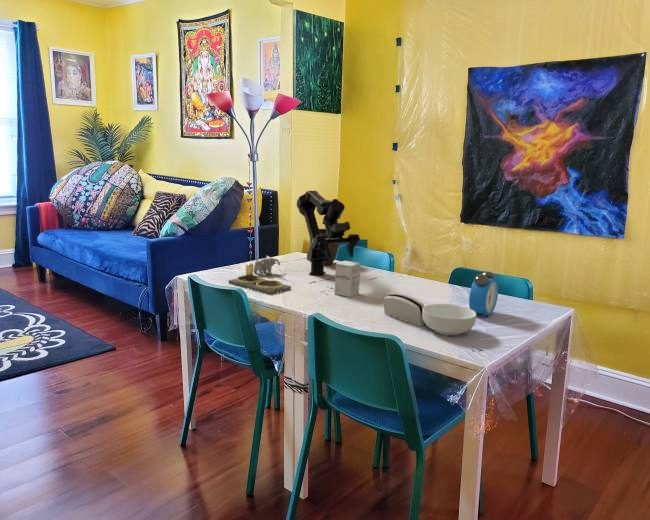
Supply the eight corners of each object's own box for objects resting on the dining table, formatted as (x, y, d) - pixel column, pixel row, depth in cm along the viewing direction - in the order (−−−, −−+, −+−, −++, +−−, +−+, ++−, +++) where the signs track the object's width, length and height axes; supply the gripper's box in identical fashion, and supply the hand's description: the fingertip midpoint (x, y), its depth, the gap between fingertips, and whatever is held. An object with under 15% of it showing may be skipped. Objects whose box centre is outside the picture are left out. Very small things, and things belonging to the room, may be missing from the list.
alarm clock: (483, 320, 190) (487, 277, 187) (466, 316, 194) (470, 274, 191) (496, 311, 201) (500, 271, 197) (480, 308, 204) (483, 268, 201)
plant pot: (329, 259, 279) (330, 227, 276) (346, 265, 267) (347, 232, 264) (304, 262, 271) (304, 229, 268) (320, 268, 259) (321, 234, 256)
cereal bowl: (485, 334, 176) (487, 313, 174) (449, 344, 167) (451, 322, 165) (445, 320, 189) (447, 300, 188) (410, 328, 180) (411, 307, 178)
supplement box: (333, 294, 216) (335, 262, 214) (343, 290, 222) (344, 259, 220) (350, 297, 212) (351, 265, 210) (359, 293, 219) (361, 262, 216)
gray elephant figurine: (249, 274, 245) (249, 257, 243) (268, 268, 254) (268, 252, 252) (264, 278, 239) (264, 261, 237) (283, 272, 248) (283, 255, 246)
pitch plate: (228, 283, 228) (228, 263, 226) (250, 278, 237) (250, 259, 235) (269, 294, 213) (269, 274, 211) (291, 289, 222) (291, 269, 220)
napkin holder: (431, 323, 186) (427, 297, 181) (422, 330, 183) (418, 305, 179) (393, 311, 198) (388, 287, 193) (384, 317, 195) (379, 293, 191)
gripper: (315, 215, 219) (324, 248, 211) (359, 214, 226) (369, 246, 218) (309, 231, 228) (317, 263, 220) (350, 230, 234) (360, 261, 227)
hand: (341, 258), depth 221 cm, fingers open, 9 cm apart
